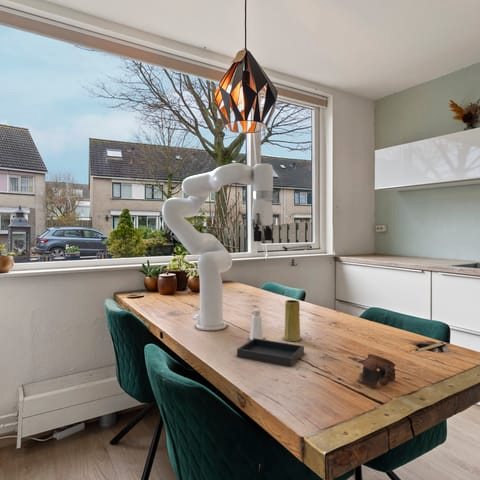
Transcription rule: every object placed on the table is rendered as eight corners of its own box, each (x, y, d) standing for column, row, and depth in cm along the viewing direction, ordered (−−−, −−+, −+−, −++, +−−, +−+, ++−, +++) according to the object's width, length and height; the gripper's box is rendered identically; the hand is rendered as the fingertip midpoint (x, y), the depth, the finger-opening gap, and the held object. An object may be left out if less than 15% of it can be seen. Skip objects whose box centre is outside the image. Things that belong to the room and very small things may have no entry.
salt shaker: (259, 342, 132) (259, 312, 131) (246, 339, 135) (246, 310, 134) (266, 338, 136) (266, 309, 136) (254, 335, 139) (254, 307, 139)
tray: (237, 356, 117) (237, 348, 117) (254, 345, 129) (254, 338, 128) (290, 366, 109) (290, 358, 109) (304, 353, 120) (304, 346, 120)
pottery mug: (350, 378, 102) (359, 350, 104) (379, 391, 102) (387, 363, 105) (373, 385, 90) (382, 354, 92) (405, 400, 91) (414, 369, 93)
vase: (299, 342, 132) (300, 303, 131) (283, 340, 133) (283, 302, 132) (300, 336, 138) (301, 300, 137) (284, 335, 139) (285, 299, 138)
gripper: (263, 198, 148) (263, 239, 149) (244, 195, 133) (244, 241, 133) (280, 197, 145) (280, 240, 145) (262, 194, 129) (262, 242, 130)
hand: (263, 240), depth 139 cm, fingers open, 9 cm apart
